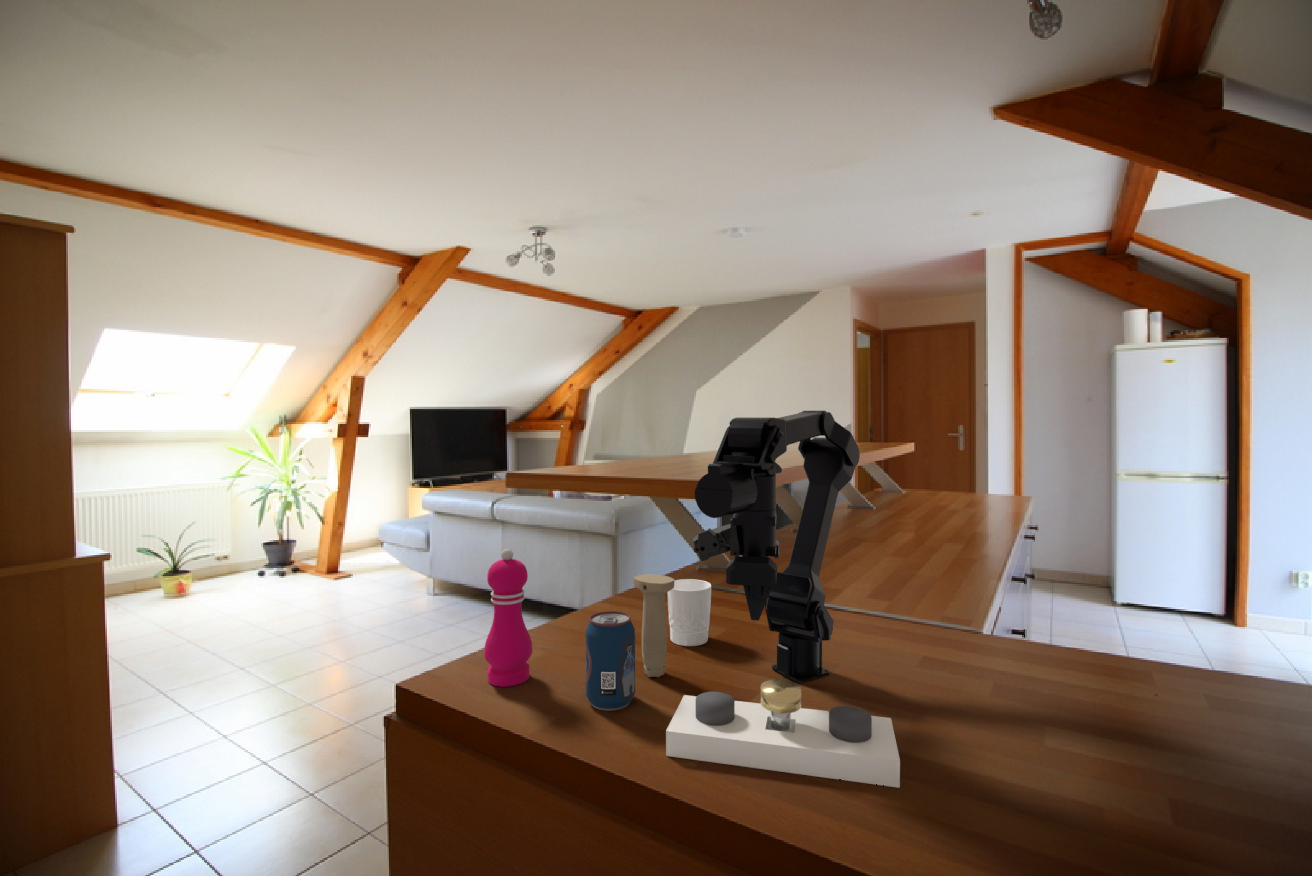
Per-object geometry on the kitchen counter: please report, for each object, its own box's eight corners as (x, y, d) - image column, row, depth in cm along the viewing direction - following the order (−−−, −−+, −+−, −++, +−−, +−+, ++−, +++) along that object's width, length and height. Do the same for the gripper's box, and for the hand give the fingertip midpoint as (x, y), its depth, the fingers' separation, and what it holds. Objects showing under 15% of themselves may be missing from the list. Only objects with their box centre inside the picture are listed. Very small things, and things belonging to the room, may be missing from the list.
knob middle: (801, 719, 79) (802, 681, 79) (800, 738, 74) (800, 698, 74) (762, 714, 80) (762, 677, 80) (758, 733, 76) (758, 693, 76)
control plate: (890, 742, 79) (890, 718, 79) (899, 787, 69) (899, 760, 69) (684, 717, 86) (684, 695, 86) (666, 755, 76) (666, 730, 76)
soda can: (589, 690, 94) (588, 609, 94) (636, 691, 94) (636, 609, 93) (582, 712, 87) (581, 625, 87) (633, 713, 87) (633, 625, 86)
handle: (662, 684, 96) (661, 585, 95) (628, 674, 100) (628, 578, 99) (680, 674, 100) (679, 578, 99) (647, 664, 104) (646, 572, 103)
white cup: (660, 644, 113) (660, 588, 112) (676, 630, 120) (676, 577, 120) (703, 650, 110) (703, 592, 110) (716, 635, 117) (716, 581, 117)
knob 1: (736, 730, 81) (736, 694, 81) (731, 749, 77) (731, 711, 76) (699, 725, 82) (699, 689, 82) (692, 744, 78) (692, 706, 78)
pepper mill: (542, 673, 100) (540, 546, 99) (513, 692, 94) (511, 556, 93) (504, 666, 103) (503, 542, 102) (474, 683, 97) (472, 551, 96)
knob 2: (869, 746, 77) (870, 708, 77) (872, 768, 73) (873, 727, 72) (828, 741, 78) (828, 703, 78) (828, 762, 74) (829, 722, 74)
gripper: (705, 497, 99) (706, 597, 100) (686, 517, 81) (687, 639, 82) (779, 499, 97) (779, 601, 98) (775, 520, 79) (775, 645, 80)
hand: (755, 619), depth 89 cm, fingers closed
